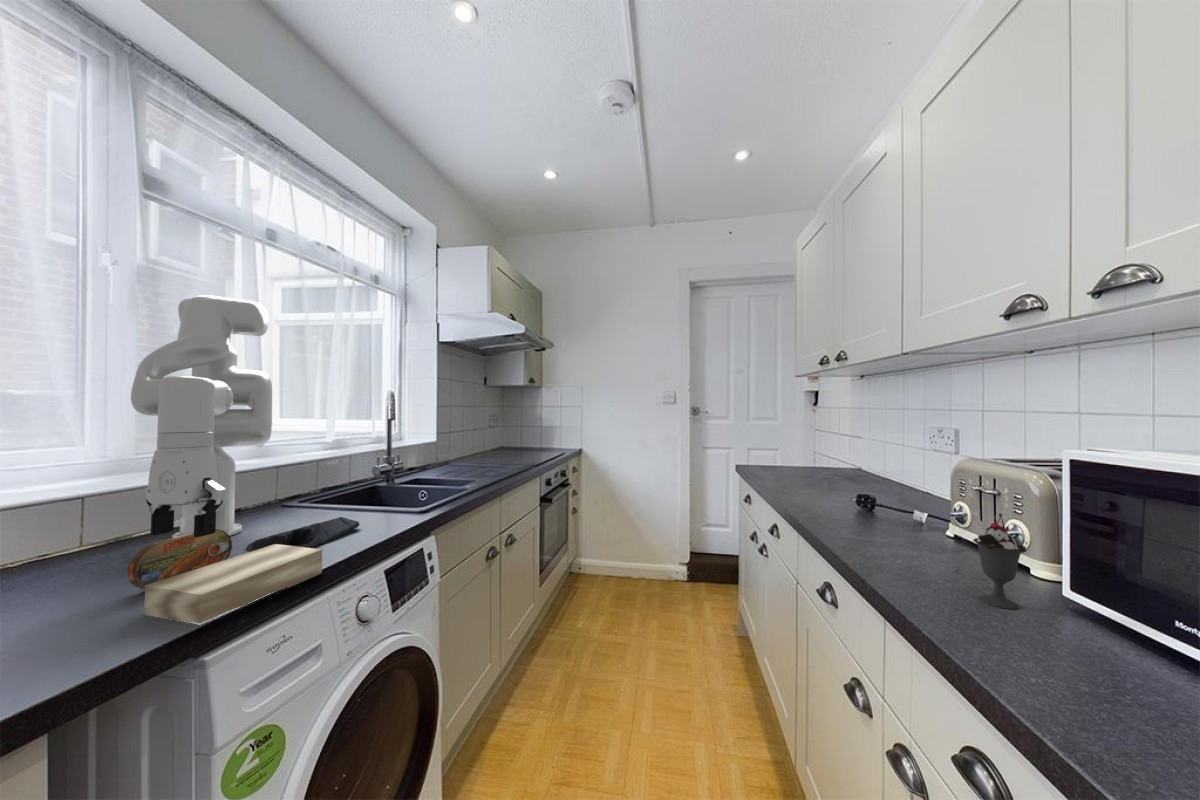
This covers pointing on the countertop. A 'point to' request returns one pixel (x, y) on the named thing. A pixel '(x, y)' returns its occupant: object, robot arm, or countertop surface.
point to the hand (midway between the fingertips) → (183, 534)
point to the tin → (177, 557)
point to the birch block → (231, 583)
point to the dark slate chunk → (308, 534)
